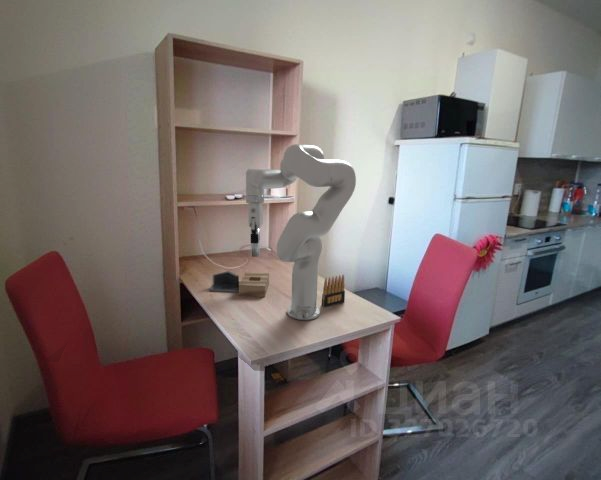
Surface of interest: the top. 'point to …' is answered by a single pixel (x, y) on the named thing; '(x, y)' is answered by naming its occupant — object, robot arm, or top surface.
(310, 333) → the top surface
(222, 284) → the v block
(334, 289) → the ammunition clip
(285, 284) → the top surface
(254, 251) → the axle
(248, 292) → the wooden block with hole
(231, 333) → the top surface
